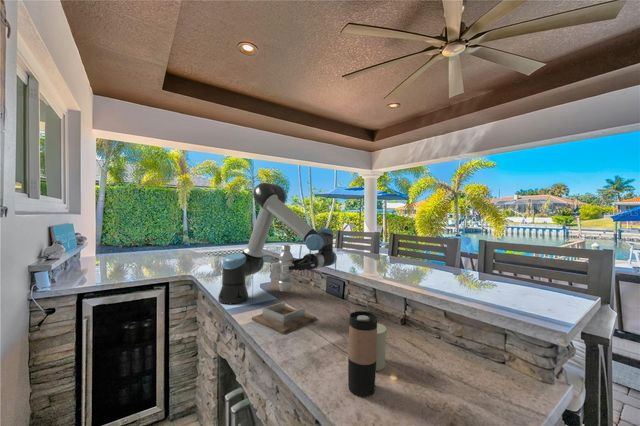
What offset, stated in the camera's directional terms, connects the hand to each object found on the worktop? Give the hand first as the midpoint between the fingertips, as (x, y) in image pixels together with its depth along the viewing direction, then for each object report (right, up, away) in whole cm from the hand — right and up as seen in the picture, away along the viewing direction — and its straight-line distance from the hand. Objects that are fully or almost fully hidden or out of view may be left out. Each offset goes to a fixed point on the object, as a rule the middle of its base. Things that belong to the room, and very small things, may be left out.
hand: (277, 267), depth 118 cm
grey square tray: (+2, -22, +4) cm, 23 cm away
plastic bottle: (+3, -11, +4) cm, 12 cm away
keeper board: (+3, -24, +4) cm, 24 cm away
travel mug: (+30, -25, -42) cm, 57 cm away
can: (+35, -25, -29) cm, 51 cm away
